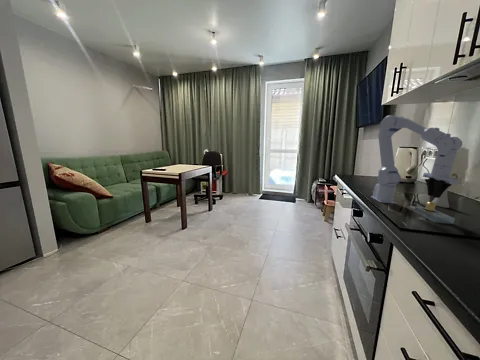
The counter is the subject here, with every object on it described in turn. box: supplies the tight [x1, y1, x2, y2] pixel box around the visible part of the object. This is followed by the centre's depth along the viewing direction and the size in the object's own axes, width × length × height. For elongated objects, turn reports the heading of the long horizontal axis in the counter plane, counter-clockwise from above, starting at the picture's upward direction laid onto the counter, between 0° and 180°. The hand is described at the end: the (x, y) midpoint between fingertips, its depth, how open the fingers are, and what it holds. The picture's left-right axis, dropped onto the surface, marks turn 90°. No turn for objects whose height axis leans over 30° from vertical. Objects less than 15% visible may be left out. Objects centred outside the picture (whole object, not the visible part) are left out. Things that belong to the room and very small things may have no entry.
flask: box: [431, 187, 450, 209], centre depth 104 cm, size 7×7×10 cm
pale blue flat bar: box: [406, 205, 456, 225], centre depth 89 cm, size 16×7×2 cm, turn 174°
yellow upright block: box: [424, 201, 437, 212], centre depth 89 cm, size 3×3×6 cm
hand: (433, 196), depth 88 cm, fingers open, 2 cm apart
